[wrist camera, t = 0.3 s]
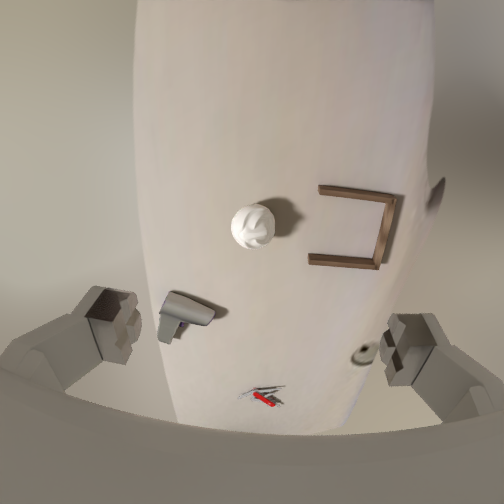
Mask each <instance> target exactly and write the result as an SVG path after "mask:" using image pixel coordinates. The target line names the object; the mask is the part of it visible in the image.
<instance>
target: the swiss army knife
mask: <svg viewBox="0 0 504 504" xmlns="http://www.w3.org/2000/svg"><path fill="white" fill-rule="evenodd" d="M280 389H281V388H277V389H266V390H260V389H258V388H253V390H252V391H250V392H248V393H245V394H243V395H241V396H239V397H238V399H241V398H243V397H246V396H248V395H250V394H252V398H251V399H250V400H252V401H257V402H264V403H266V404H268V405H267V406H271V407H273V406H275V405H276V406H277V407H281V406H280V405H278V404H277V403H275V402H276V400H275V399H273V398H272V397H270V396H271V395H272V394H274V393H269V394H266V393H264V392H272V390H280ZM254 396H255V397H257V398H258V399H256V398H255V397H254Z"/></svg>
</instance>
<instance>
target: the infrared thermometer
mask: <svg viewBox="0 0 504 504" xmlns="http://www.w3.org/2000/svg"><path fill="white" fill-rule="evenodd" d="M159 314H160V318H159V326H158V331H157V336H158V340H159V341H161V342H164V343H167V344H171V342H172V339H173V336H174V334H175V333H176V330H177V328H178V326H180V327H183V326H184V322H185V323H191V324H196V325H201V326H207V325H208V324H209V323H210V322H211V321H212V320H213V318H214V316H215V311H214V310H212V309H210V308H208V307H206V306H204V305H202V304H199V303H197V302H195V301H193V300H191V299H189V298H187V297H184V296H181V295H178V294H175V293H173V292H169V293H168V295H167V297H166V299H165V301H164V304H163V306H162V308H161V310H160V313H159Z"/></svg>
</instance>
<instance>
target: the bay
mask: <svg viewBox="0 0 504 504" xmlns="http://www.w3.org/2000/svg"><path fill="white" fill-rule="evenodd" d="M318 192H319V194H320V195H327V196H336V197H344V198H352V199H360V200H368V201H375V202H382V203H386V205H385V209H384V214H383V218H382V223H381V227H380V231H379V235H378V239H377V243H376V247H375V251H374V255H373V258H372V259H366V258H355V257H343V256H331V255H320V254H308V263H309V265H322V266H334V267H346V268H359V269H372V270H379V267H380V264H381V261H382V257H383V253H384V250H385V246H386V242H387V238H388V235H389V231H390V227H391V223H392V219H393V214H394V210H395V206H396V201H397V199H396V198H395V197H394V196H393V195H390V194H384V193H377V192H370V191H362V190H355V189H347V188H339V187H331V186H322V185H318Z"/></svg>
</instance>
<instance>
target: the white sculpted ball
mask: <svg viewBox="0 0 504 504" xmlns="http://www.w3.org/2000/svg"><path fill="white" fill-rule="evenodd" d="M231 230H232V234H233V237H234V238H235V240H236V241H237V242H238V243H239V244H240V245H241V246H243V247H245V248H248V249H260V248H262V247H264V246H266V245H267V244H268V243H269V242H270V240H271V239H272V238H273V236H274V234H275V219H274V215H273V214H272V213H271V212H270V210H269V209H268V208H266V207H265V206H262V205H259V204H253V205H247V206H245V207H243V208H241V209H240V210H239V211H238V212H237V213H236V215H235V216H234V218H232V223H231Z"/></svg>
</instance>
